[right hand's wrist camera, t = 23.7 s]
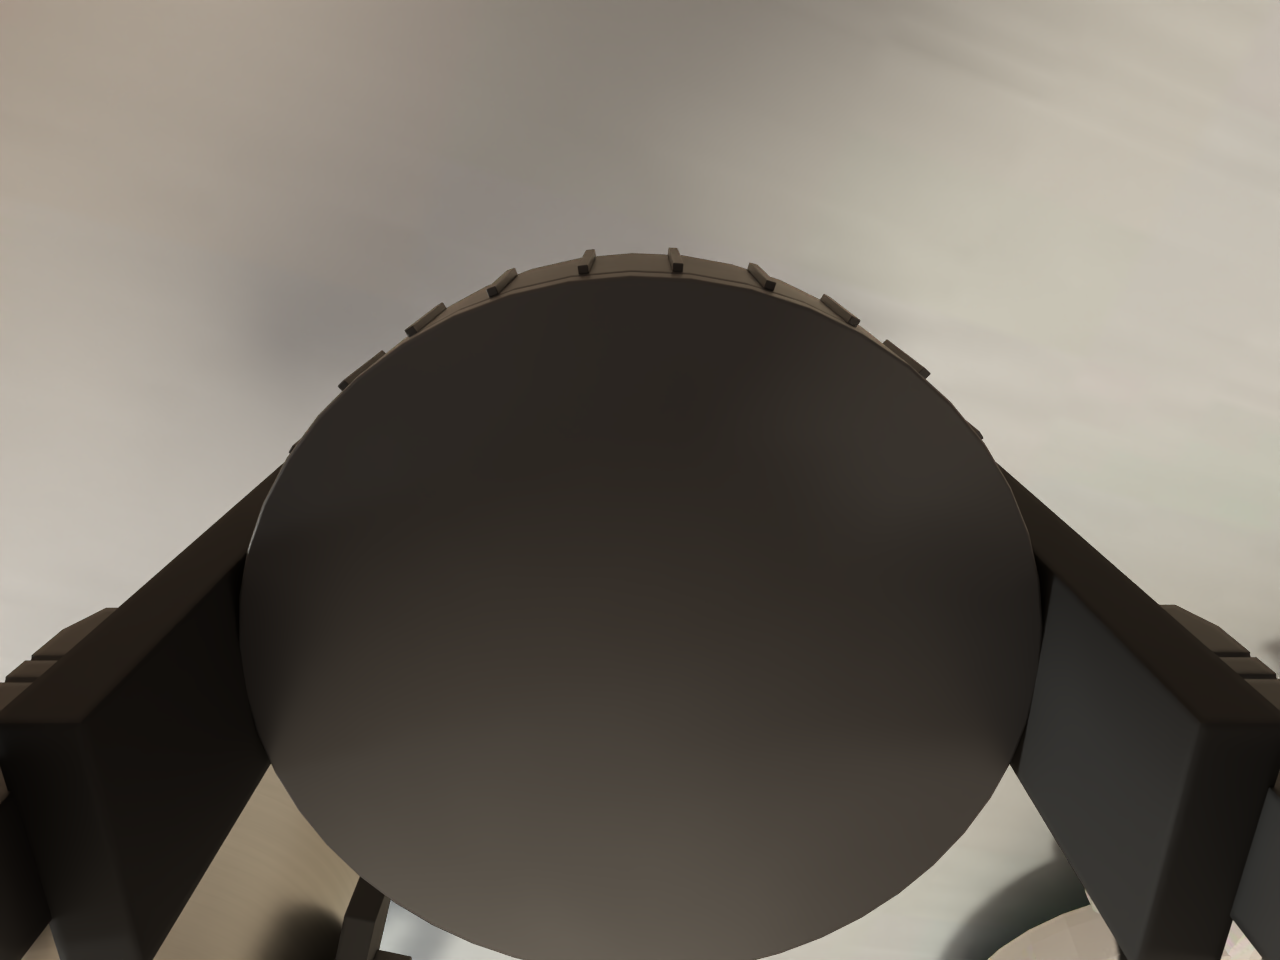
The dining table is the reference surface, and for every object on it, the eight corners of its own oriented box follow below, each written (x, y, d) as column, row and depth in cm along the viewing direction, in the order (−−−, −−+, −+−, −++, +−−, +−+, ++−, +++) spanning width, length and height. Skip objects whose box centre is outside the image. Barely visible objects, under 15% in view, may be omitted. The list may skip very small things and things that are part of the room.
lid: (241, 255, 10) (148, 280, 8) (1024, 238, 10) (1115, 258, 8) (348, 864, 14) (299, 986, 12) (946, 854, 14) (997, 974, 12)
